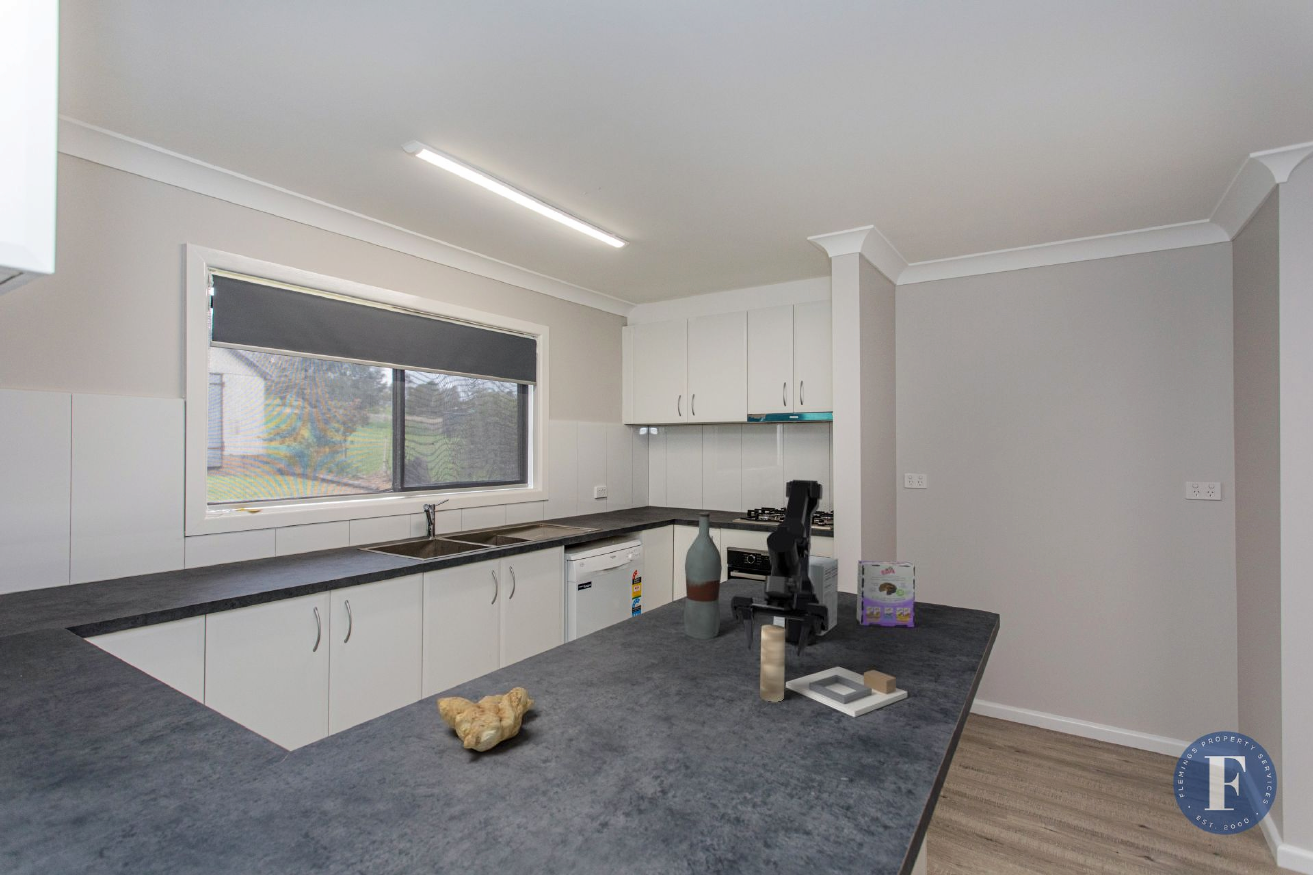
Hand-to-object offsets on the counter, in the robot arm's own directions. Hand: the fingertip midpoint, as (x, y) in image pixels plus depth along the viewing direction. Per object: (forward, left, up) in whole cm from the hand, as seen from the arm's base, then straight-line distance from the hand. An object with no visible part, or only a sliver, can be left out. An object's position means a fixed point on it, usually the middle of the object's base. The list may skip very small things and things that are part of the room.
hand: (773, 652), depth 120 cm
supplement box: (-28, +41, -8) cm, 50 cm away
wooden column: (0, -1, -8) cm, 8 cm away
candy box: (-18, +61, -8) cm, 64 cm away
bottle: (-37, +13, -8) cm, 40 cm away
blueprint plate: (+6, +13, -8) cm, 17 cm away
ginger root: (-14, -51, -9) cm, 53 cm away
